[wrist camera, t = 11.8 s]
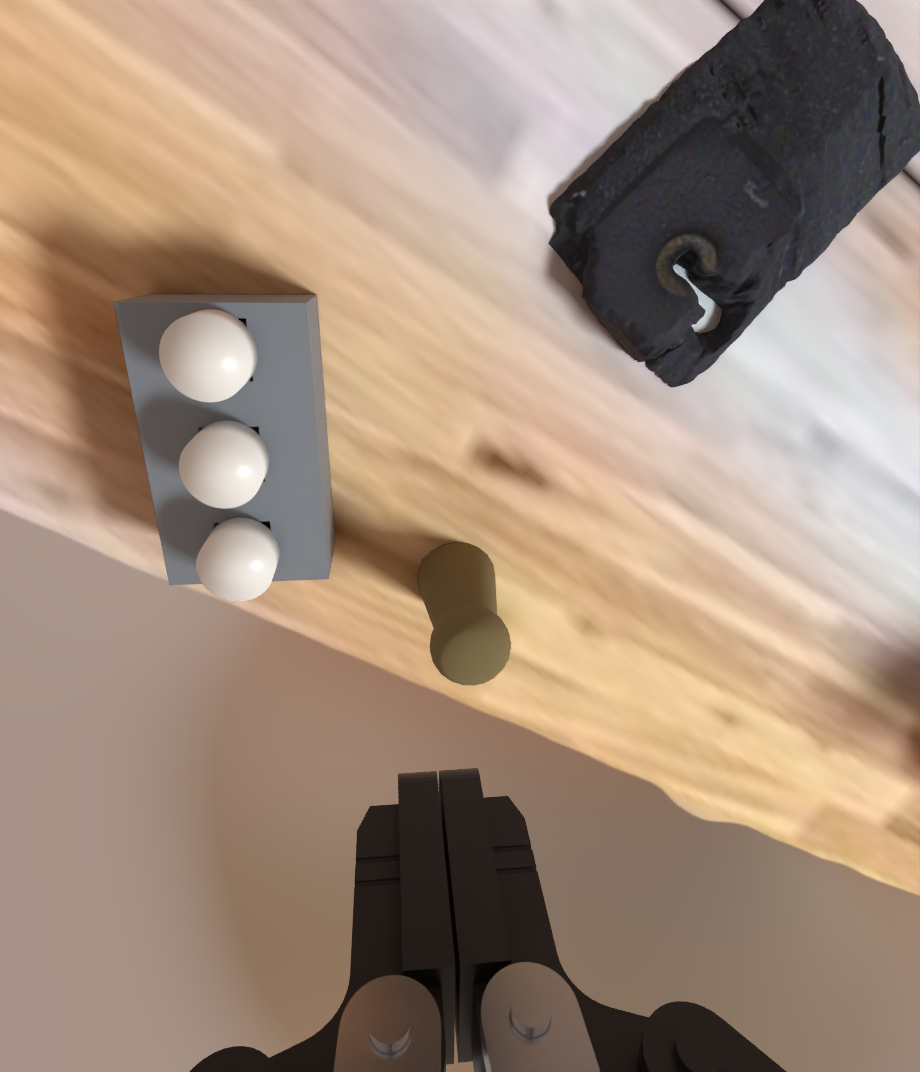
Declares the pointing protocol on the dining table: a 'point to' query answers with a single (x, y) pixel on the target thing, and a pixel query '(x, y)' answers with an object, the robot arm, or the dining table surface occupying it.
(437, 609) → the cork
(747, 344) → the dining table surface
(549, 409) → the dining table surface
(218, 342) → the knob near
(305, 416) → the mount block
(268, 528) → the knob far
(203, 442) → the knob middle
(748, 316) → the dark slate chunk
